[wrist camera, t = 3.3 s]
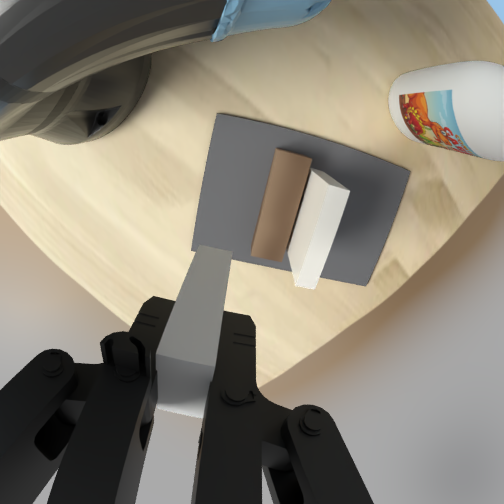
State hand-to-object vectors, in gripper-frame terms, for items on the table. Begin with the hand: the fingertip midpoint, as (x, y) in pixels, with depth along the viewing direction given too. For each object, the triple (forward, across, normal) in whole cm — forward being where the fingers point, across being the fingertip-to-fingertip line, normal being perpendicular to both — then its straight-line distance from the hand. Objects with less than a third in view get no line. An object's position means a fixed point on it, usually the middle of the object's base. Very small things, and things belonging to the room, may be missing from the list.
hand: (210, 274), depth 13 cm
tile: (+15, +7, 0) cm, 17 cm away
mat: (+16, +7, 0) cm, 17 cm away
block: (+15, +4, 0) cm, 16 cm away
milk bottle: (+16, +16, +14) cm, 26 cm away
